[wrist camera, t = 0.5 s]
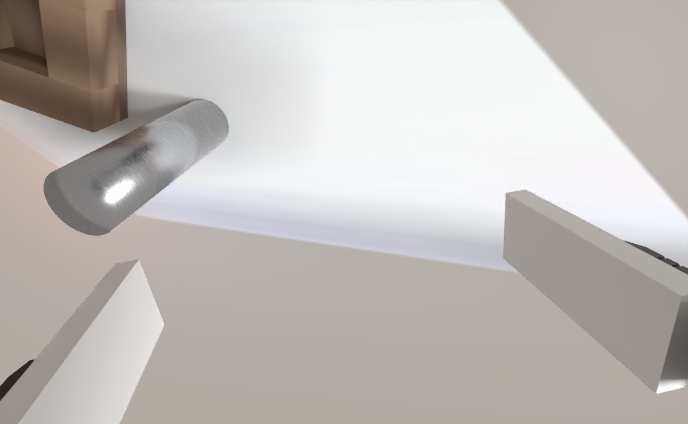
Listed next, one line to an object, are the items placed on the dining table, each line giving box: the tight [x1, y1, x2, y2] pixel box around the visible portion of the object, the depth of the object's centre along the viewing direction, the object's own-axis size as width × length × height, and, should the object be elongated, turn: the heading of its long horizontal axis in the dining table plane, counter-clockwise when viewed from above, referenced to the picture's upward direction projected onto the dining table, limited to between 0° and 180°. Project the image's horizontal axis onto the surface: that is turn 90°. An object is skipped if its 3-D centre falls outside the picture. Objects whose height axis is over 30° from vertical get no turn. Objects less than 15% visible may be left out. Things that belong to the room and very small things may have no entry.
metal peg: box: [44, 99, 228, 235], centre depth 26 cm, size 4×4×14 cm
